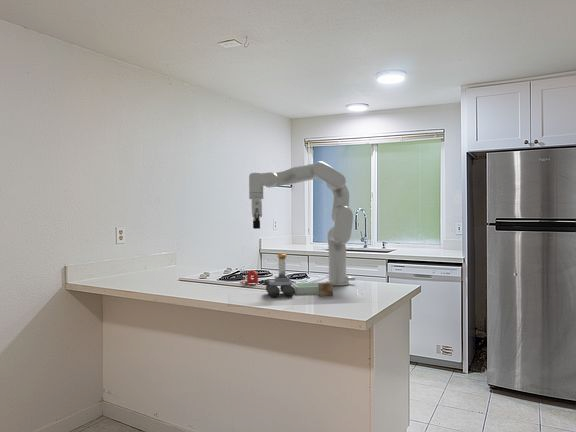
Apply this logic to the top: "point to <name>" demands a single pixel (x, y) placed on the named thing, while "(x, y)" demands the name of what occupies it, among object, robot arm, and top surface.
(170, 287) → the top surface
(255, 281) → the bracket
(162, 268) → the top surface
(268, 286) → the trolley
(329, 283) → the chock
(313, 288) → the tray
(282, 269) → the pin
